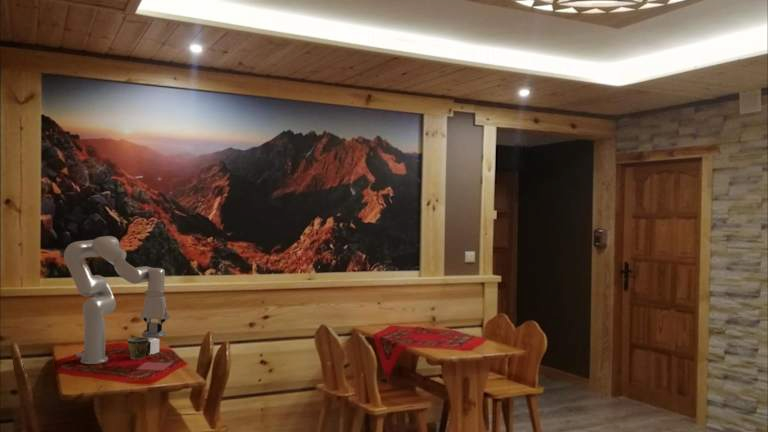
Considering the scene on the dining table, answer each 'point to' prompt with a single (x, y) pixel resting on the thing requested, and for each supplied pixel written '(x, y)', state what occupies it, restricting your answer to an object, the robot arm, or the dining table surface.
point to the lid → (153, 331)
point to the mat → (154, 366)
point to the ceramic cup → (138, 347)
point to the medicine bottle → (152, 346)
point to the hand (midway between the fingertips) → (154, 331)
